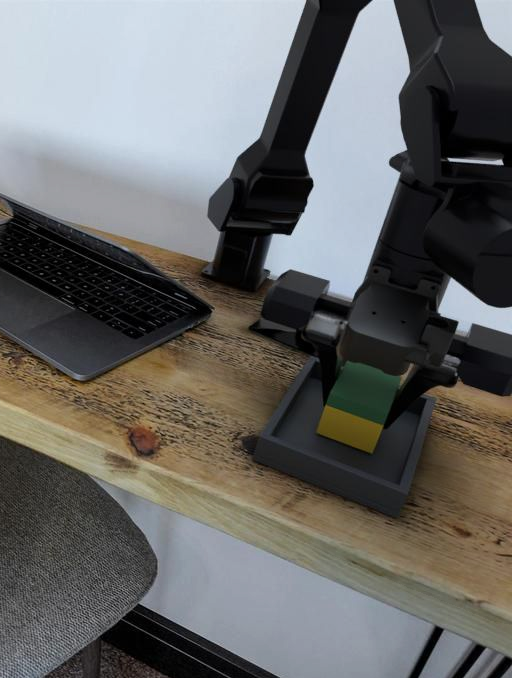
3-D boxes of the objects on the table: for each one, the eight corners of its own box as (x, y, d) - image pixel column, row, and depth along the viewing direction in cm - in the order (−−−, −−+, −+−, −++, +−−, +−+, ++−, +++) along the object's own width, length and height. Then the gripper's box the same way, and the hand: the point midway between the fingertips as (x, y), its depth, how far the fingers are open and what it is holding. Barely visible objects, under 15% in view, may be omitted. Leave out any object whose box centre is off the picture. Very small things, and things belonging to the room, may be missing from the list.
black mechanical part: (246, 331, 84) (257, 290, 82) (276, 310, 89) (287, 271, 87) (366, 380, 78) (381, 337, 75) (391, 354, 83) (406, 313, 80)
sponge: (334, 396, 73) (347, 358, 71) (387, 415, 71) (402, 376, 69) (315, 433, 68) (329, 392, 66) (372, 454, 66) (388, 413, 64)
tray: (302, 376, 77) (310, 355, 76) (427, 420, 72) (436, 398, 71) (251, 460, 65) (259, 435, 64) (396, 519, 60) (408, 494, 59)
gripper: (266, 241, 59) (218, 417, 67) (557, 324, 51) (465, 513, 59) (304, 203, 68) (257, 363, 76) (559, 269, 60) (478, 441, 68)
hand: (355, 416), depth 69 cm, fingers closed on sponge, 4 cm apart
